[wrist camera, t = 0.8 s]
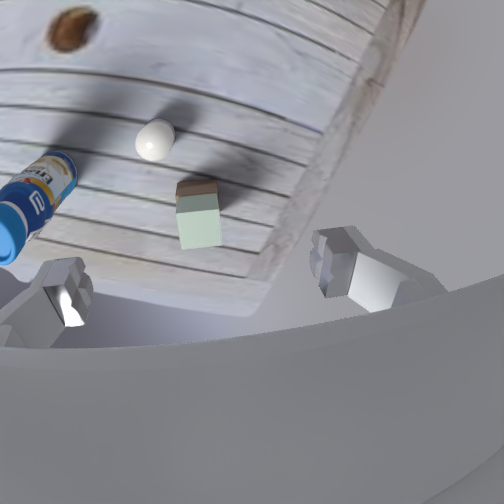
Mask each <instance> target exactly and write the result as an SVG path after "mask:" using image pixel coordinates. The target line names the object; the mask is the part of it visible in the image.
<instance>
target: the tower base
mask: <svg viewBox="0 0 504 504" xmlns="http://www.w3.org/2000/svg"><path fill="white" fill-rule="evenodd" d="M212 193H217V198H218V188H217V182H216V179H208V180H198V181H189V182H180V183H177V189H176V203H177V200H178V197H183V196H192V195H202V194H212ZM218 204H219V198H218ZM219 213H220V212H219Z"/></svg>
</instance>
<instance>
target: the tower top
mask: <svg viewBox="0 0 504 504" xmlns="http://www.w3.org/2000/svg"><path fill="white" fill-rule="evenodd" d="M176 218H177V225H178V231H179V237H180V243H181V249H192V248H201V247H211V246H220V245H222V240H221V226H220V213H219V204H218V198H217V193H212V194H202V195H192V196H183V197H178V200H177V208H176Z"/></svg>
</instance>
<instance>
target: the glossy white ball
mask: <svg viewBox="0 0 504 504" xmlns="http://www.w3.org/2000/svg"><path fill="white" fill-rule="evenodd" d="M174 139H175V129H174V127H173V125H172V124H171V123H170V122H169V121H167V120H164V119H154V120H152V121H150V122H148V123H147V124H146V125H145V126H144V128H143V129H142V130H141V131H140V132H139V133H138V135H137V137H136V142H135V145H136V149H137V152H138V153H139V155H140V156H141V157H143V158H144V159H146V160H149V161H158V160H161V159H163V158H165V157H166V156H167V155H168V154H169V152H170V151H171V149H172V146H173V142H174Z"/></svg>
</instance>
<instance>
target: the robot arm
mask: <svg viewBox="0 0 504 504" xmlns="http://www.w3.org/2000/svg"><path fill="white" fill-rule="evenodd" d="M312 242H313V244H314V246H315V247H314V248H313V249H312V250H311V252H310V267H311V271H312V273H313V275H314V277H315V278H317V279H319V280H320V281H319V287H320V289H321V291H322V293H323V295H324V297H325V298H331V297H337V296H344V295H348V296H349V297H350V298H351V299H353V300H354V301H355V302H357V303H358V304H360V305H361V306H362V307H364V308H365V309H366V310H368V311H369V312H371V313H367V314H363V315H359V316H355V317H350V318H345V319H340V320H335V321H330V322H325V323H320V324H315V325H310V326H304V327H298V328H292V329H286V330H281V331H274V332H268V333H261V334H254V335H247V336H239V337H232V338H224V339H217V340H207V341H198V342H188V343H177V344H165V345H152V346H137V347H117V348H83V349H82V348H81V349H51V348H49V347H50V346H51V345H52V344H53V342H54V341H55V340H56V338H57V337H58V336H59V335H60V333H61V332H62V331H63V330H64V329H65V326H78V325H85V322H86V319H87V315H88V309H87V306H88V305H89V304H90V303H91V301H92V299H93V285H92V281H91V279H90V277H89V276H88V275H87V274H86V273H84V270H85V267H86V266H85V264H84V262H83V260H82V258H80V257H73V258H64V259H54V260H48V261H45V262H44V263H43V264H42V266H41V268H40V270H39V271H38V273H37V275H36V277H35V278H34V280H33V282H32V284H31V286H30V287H29V289H25V290H24V291H23V292H21V293H20V294H19V295H18V296H17V297H15V298H14V299H13V300H12V301H11V302H9V303H8V304H7V305H6V306H5V307H3V308H2V309H1V310H0V504H504V274H502V275H500V276H497V277H494V278H491V279H489V280H485V281H482V282H480V283H476V284H473V285H470V286H467V287H465V288H461V289H458V290H455V291H451V292H448V291H447V290H446V289H445V288H444V286H443V285H442V284H441V283H440V282H439V281H438V279H437V278H436V277H435V276H434V275H433V274H432V273H430V272H428V271H426V270H423V269H421V268H419V267H417V266H415V265H413V264H411V263H409V262H406V261H404V260H402V259H400V258H397V257H395V256H393V255H391V254H389V253H386V252H384V251H382V250H380V249H374V248H373V246H372V245H371V244H370V243H369V242H368V241H367V239H366V238H365V237H364V236H363V235H362V234H361V232H359V230H358V229H357V228H356V227H355V226H345V227H338V228H330V229H322V230H315V231H313V235H312Z"/></svg>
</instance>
